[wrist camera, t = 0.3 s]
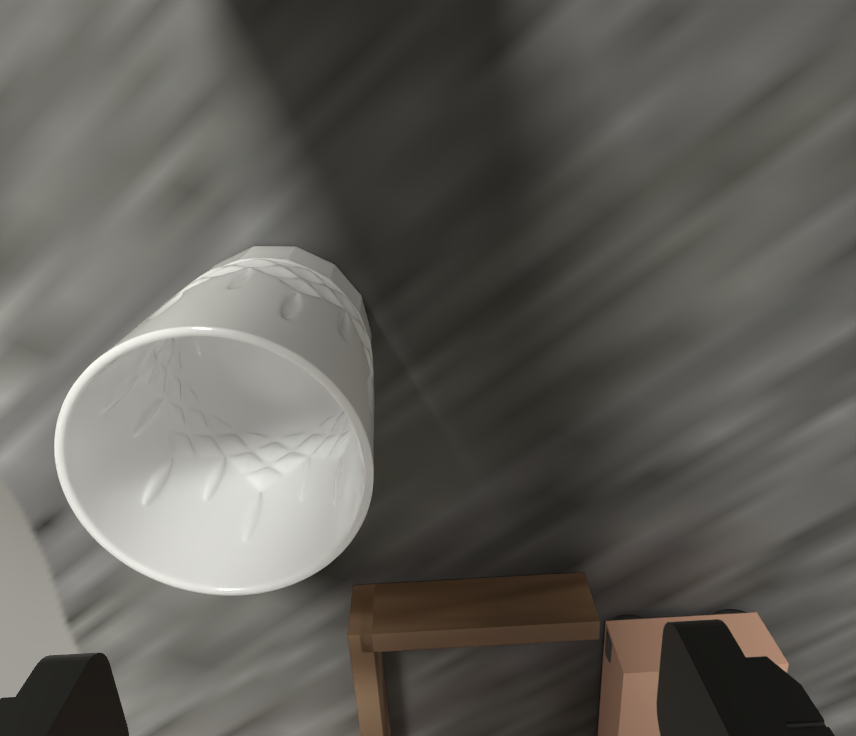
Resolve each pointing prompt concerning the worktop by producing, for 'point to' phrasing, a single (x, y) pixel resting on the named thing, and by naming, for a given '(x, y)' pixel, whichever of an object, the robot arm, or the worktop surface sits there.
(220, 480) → the white cup
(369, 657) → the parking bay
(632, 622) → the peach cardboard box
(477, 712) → the worktop surface
